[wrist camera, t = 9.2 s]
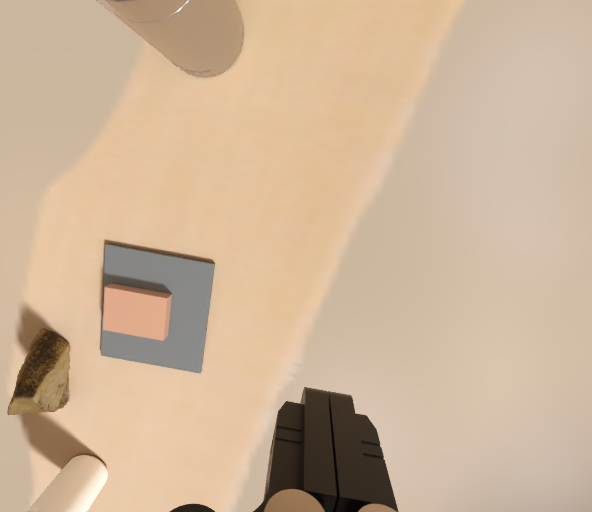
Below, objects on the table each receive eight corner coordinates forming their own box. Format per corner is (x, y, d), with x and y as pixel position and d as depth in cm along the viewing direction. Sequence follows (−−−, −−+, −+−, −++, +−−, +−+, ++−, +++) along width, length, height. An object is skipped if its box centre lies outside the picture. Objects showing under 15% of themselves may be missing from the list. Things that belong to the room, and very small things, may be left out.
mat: (107, 243, 43) (105, 244, 42) (214, 263, 43) (213, 264, 42) (103, 353, 47) (100, 355, 46) (201, 370, 47) (200, 373, 46)
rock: (73, 427, 47) (97, 383, 44) (-7, 452, 40) (14, 402, 37) (54, 365, 52) (74, 321, 49) (-20, 378, 46) (-2, 328, 42)
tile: (172, 293, 44) (112, 282, 44) (167, 298, 42) (104, 287, 42) (168, 334, 45) (110, 324, 45) (163, 340, 43) (102, 329, 43)
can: (67, 450, 51) (-4, 532, 39) (108, 455, 51) (50, 538, 39) (69, 484, 53) (2, 572, 41) (110, 488, 53) (53, 578, 41)
